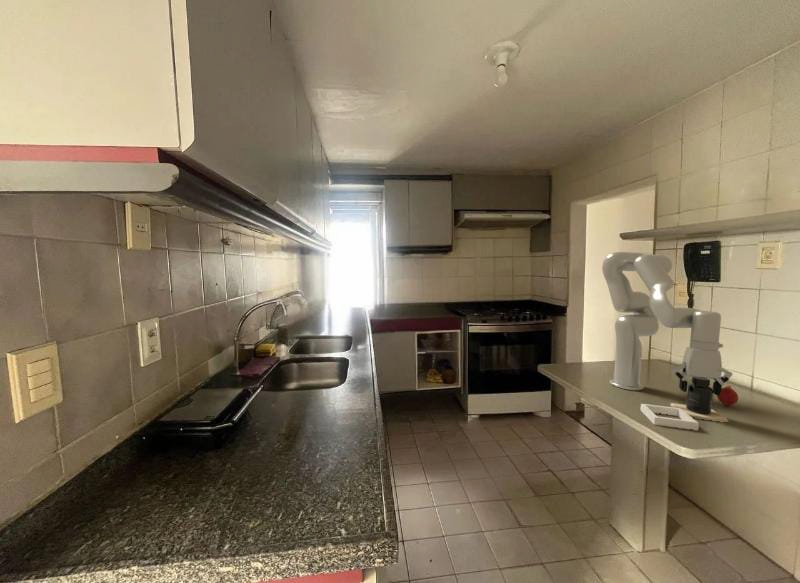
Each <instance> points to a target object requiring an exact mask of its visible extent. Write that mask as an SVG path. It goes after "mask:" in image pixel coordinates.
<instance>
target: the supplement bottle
mask: <svg viewBox="0 0 800 583" xmlns="http://www.w3.org/2000/svg"><path fill="white" fill-rule="evenodd" d="M710 382H711V380H710V378H700V377H691V383H689V384H687V392H686V404H685V405H686V408H687V409H688V410H690V411H692V412H695V413H699V414H710V413H711V409H712V407H713V395H714V393H713V387H711V386H710V385H711V383H710Z"/></svg>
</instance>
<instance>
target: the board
mask: <svg viewBox="0 0 800 583" xmlns="http://www.w3.org/2000/svg"><path fill="white" fill-rule="evenodd" d="M670 407H673V408H680V409H682V410H683V411H684V412H686V413H687V414H688V415H689V416H691V417H692V418H695V419H694V420H701V419H704V420H703V421H709V420H712V421H711V422H716V421H720V422H719V423H724V422H728V423H729V420H728V419H727V418H726V417H724V416H723V415H722V414H720V413H718V412H716V411H715V409H712V408H711V413H710V414H699V413H695V412H692V411H690V410H688V409H687V408H686V404H684V403H675V402H674V403H673V402H670Z"/></svg>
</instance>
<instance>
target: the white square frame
mask: <svg viewBox="0 0 800 583" xmlns="http://www.w3.org/2000/svg"><path fill="white" fill-rule="evenodd" d="M640 412H642V414H643V415H644V416H646V418H647V419H648V420H649V421H650V422H651V423H652V424H653V425H656V426H662V427H671V428H676V427H677V429H683V428H684V429H685V430H690V429H693V430H692V431H699V426H700V424H699V422H698V421H697V419H693V418H692V417H691V416H689V415H688V414H687V413H686V412H684V411H683V410H682V409H680V408H673V407H672V406H663V405H656V404H648V403H640ZM659 413H661V414H660V415H666V414H668V416H675V417H678V418H671V417H664V416H657V415H656V414H659ZM684 429H683V430H684Z"/></svg>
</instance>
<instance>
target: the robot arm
mask: <svg viewBox="0 0 800 583" xmlns="http://www.w3.org/2000/svg"><path fill="white" fill-rule="evenodd" d="M601 268H602V269H601V271H602V274H603V277H604V279H605V282H606V284H607V285H606V286H607V289H608V292H609V295H610V299H611V302H612V305H613V308H614V310H615V311H616V312H618V313H624V314H625V313H627V314H625V315H622V316H620V317H618V318H617V319H616V320H615V322H614V331H615V342H616V343H615V355H614V356H615V358H614V372H613V378H611V379H609V384H611V385H612V386H613V385H614V386H613V387H616V388H619V389H623V390H627V391H642V390H644V387H645V386H644V384H642V383H641V382H640V381H641V380H640V379H641V367H642V354H643V346H642V342H641V340H640V337H651V336H655V335H656V334H657V333H658V331H659V327H660V326H659V323H660V324H661V325H663V326H664V327H665V328H669V329H691V330H690V338H689V339H690V340H689V346H688V347H686V348H685V351H684V354H683V358H682V362H681V363H680V364H679V363H678V364H676V365H674V366H671V369H672V371H673V373H674V375H675V376H676V377H677V378H678V379H679V382H678V383H679V384H678V387H679V390H680V391H682V392H684V393H687V390H688V379H689V378H692V377H700V378H707V379H709V380H710V379H712V380H714V381H713V383H712V390H713V395H715V396H716V397H717V396H720V393H721V389H722V388H723V385H725V383H726V382H728V381H730V379H731V377H732V376H733V372H731V371H729V370H727V369H725V368H724V367H722V366H723V365H722V364H723V362H722V355H721V351H720V348H724V344H723V343H720V335H721V334H720V333H721V332H720V331H721V323H722V315H721V314H720V313H719V312H717V311H712V310H700V309H696V308H692V307H674V306H673V305H672V303H671V301H670V300H669V298H668V296H667V292H669V291H670V290H671V289H672V288H673V287H674V285H675V281H674V280H673V279H672V277H671V276H670V274H669V273H671V271H672V268H673V262H672V260H671V259H670V258H669V257H668V256H666V255H662V254H652V253H644V252H631V251H629V252H628V251H617V252H616V251H615V252H612V253H609V254H608V255H607V256H605V258H604V260H603V261H602V266H601ZM623 271H625V272H636V273H637V275H638V276H639V278H640V279H641V280H642V281H643V283H644V285H645V286H646V288H647V289H648V291H649V295H648V294H647V293H645V292H641V291H634V290H633V289H632V286H631V283H630V280H629V278H628V277H627V276H626V275H625V274H624V272H623ZM628 313H631V314H628ZM680 370H681V371H680ZM680 372H682V373H680ZM722 373H723V374H724V375H723V376H722Z"/></svg>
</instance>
